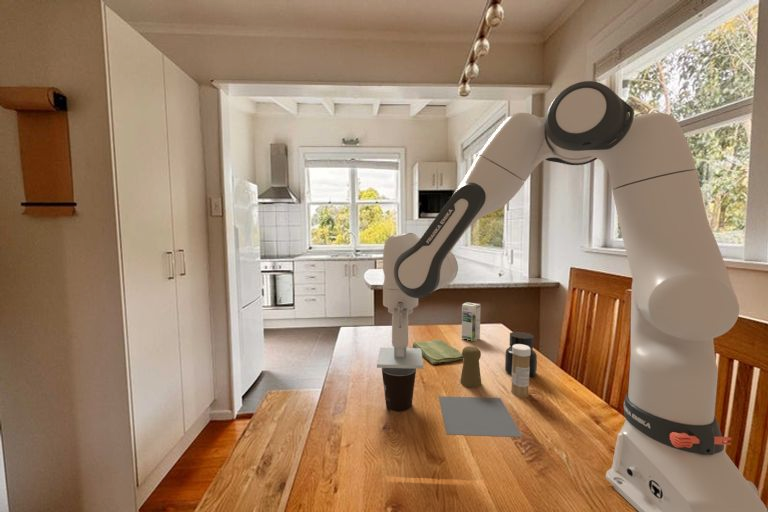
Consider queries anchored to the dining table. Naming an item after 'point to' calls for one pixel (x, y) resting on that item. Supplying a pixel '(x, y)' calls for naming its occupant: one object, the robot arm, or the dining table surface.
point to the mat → (477, 417)
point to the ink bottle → (525, 340)
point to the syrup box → (470, 321)
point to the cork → (471, 367)
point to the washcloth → (437, 351)
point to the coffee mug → (398, 388)
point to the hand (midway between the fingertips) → (400, 352)
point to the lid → (400, 358)
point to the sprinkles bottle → (520, 370)
